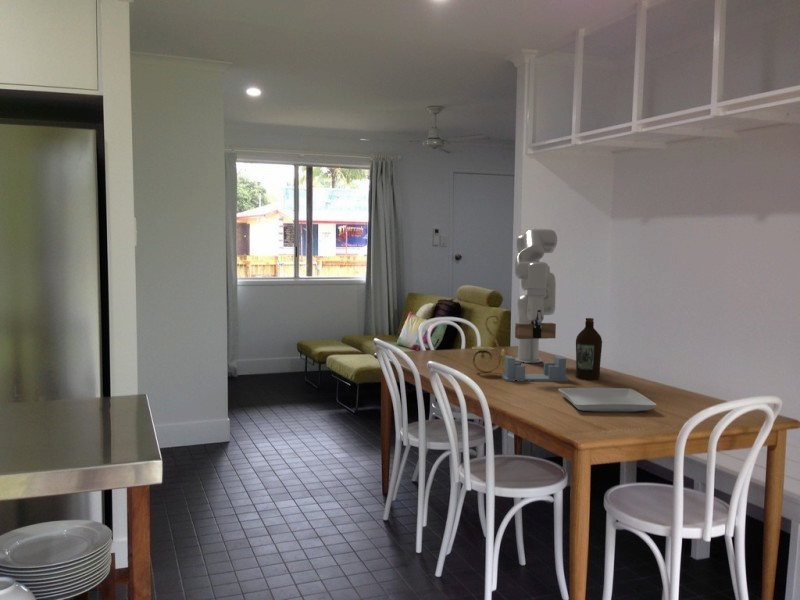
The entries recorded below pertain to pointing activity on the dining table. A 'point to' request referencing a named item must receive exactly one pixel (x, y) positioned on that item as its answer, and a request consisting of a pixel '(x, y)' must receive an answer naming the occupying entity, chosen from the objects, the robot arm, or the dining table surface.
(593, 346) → the olive oil
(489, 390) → the dining table surface
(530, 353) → the robot arm
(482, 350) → the wall sconce
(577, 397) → the square plate
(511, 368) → the grey bracket base
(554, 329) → the rail
